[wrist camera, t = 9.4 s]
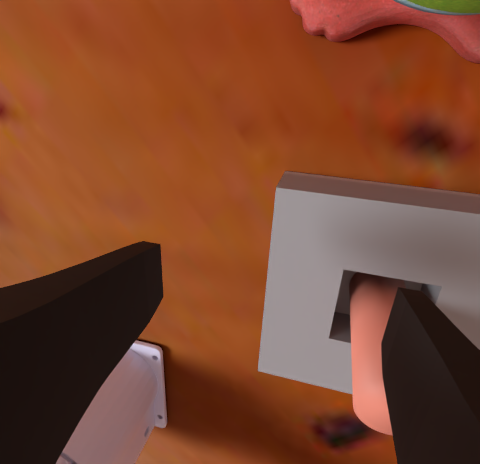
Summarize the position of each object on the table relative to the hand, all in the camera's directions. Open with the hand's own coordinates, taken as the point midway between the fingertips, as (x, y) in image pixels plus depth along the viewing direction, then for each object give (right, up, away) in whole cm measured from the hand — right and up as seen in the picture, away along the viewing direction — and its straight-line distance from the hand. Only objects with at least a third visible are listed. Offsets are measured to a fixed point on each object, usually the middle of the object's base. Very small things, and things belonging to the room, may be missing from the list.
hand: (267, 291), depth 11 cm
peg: (+7, -1, +9) cm, 12 cm away
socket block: (+7, -1, +10) cm, 12 cm away
